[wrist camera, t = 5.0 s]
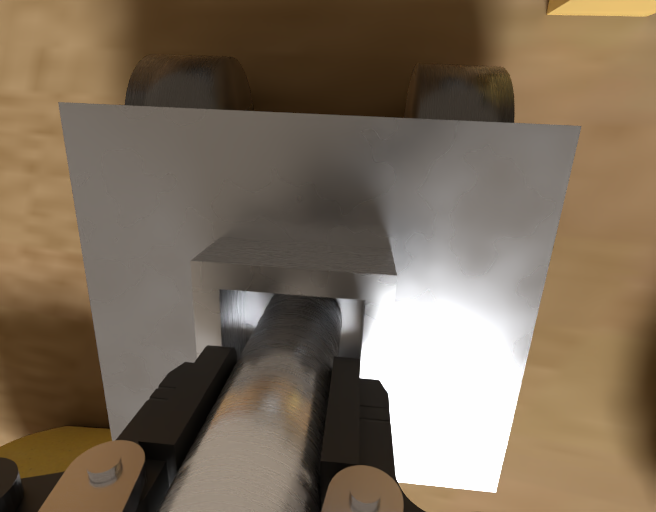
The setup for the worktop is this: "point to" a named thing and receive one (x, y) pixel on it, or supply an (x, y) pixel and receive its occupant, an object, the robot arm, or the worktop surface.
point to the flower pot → (52, 449)
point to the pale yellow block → (602, 7)
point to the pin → (266, 418)
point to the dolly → (325, 241)
